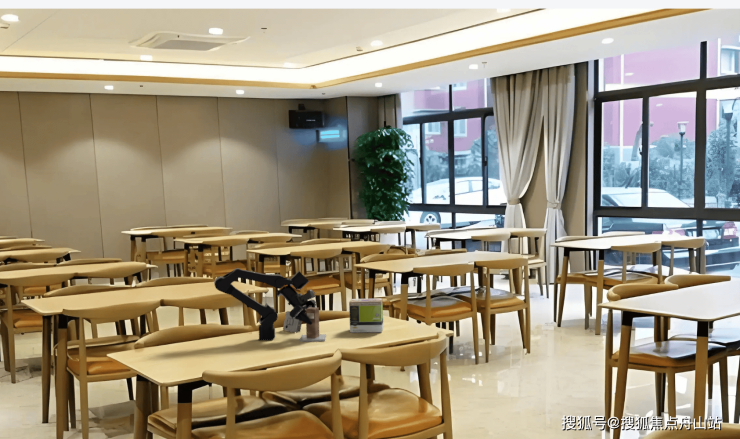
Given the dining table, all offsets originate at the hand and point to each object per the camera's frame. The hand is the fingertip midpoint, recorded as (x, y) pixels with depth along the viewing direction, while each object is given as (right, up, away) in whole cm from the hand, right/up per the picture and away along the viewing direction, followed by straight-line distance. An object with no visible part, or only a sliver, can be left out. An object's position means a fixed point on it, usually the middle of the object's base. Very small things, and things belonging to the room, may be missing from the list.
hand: (315, 322), depth 320 cm
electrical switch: (-12, -7, +20) cm, 24 cm away
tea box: (+23, -7, +17) cm, 29 cm away
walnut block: (-1, -7, +1) cm, 7 cm away
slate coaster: (-1, -8, +1) cm, 8 cm away
